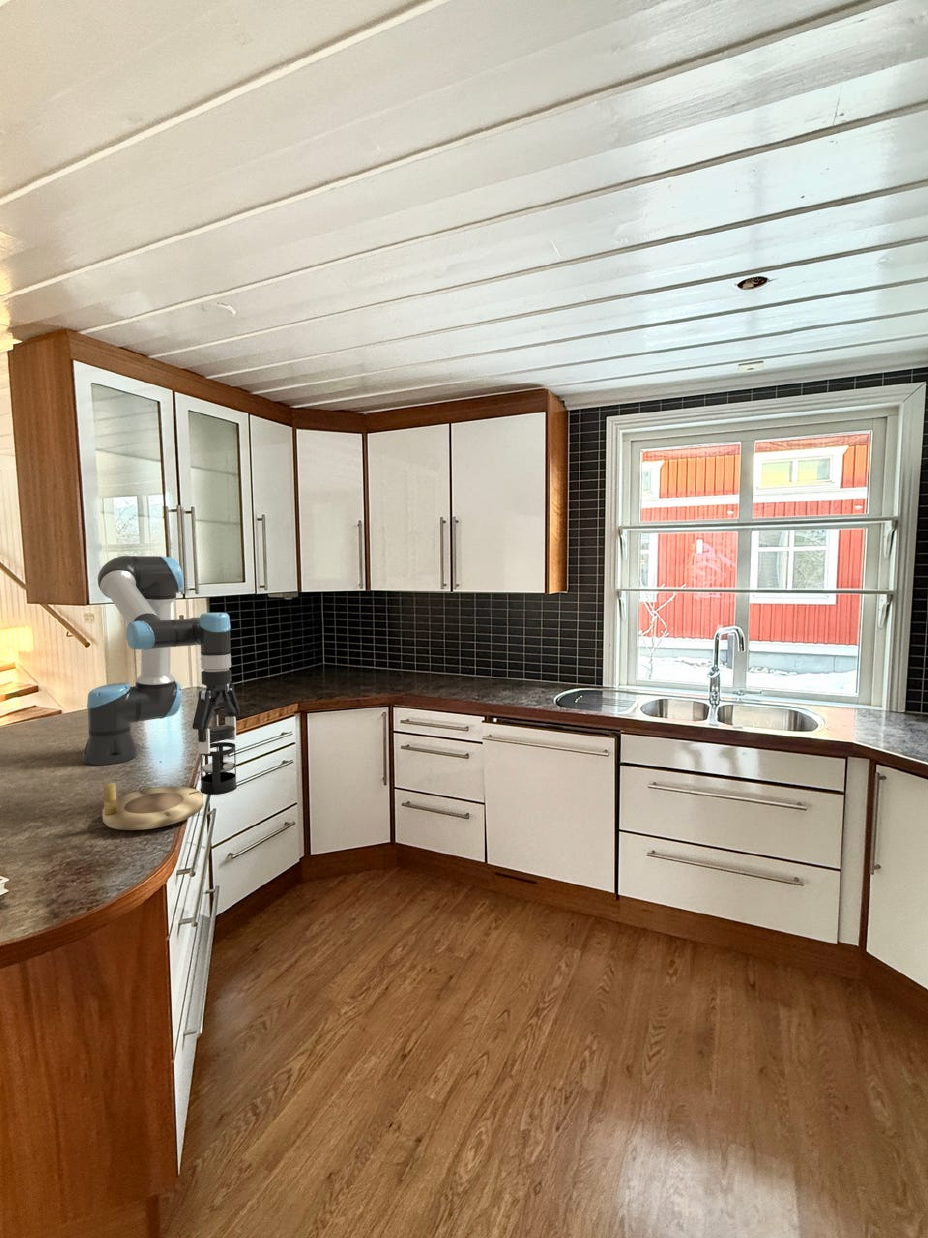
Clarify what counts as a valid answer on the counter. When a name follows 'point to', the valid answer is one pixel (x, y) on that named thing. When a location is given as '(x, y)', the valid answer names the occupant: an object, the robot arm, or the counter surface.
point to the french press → (219, 762)
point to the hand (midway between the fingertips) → (218, 746)
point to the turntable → (150, 807)
